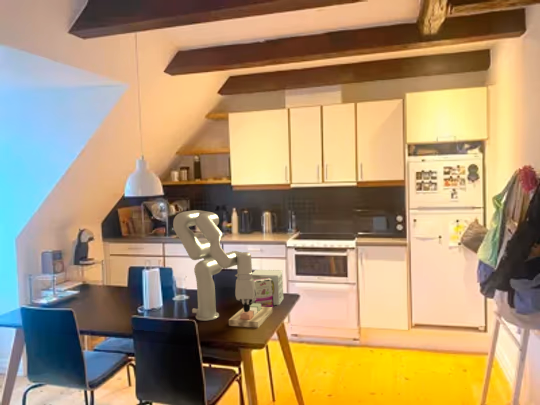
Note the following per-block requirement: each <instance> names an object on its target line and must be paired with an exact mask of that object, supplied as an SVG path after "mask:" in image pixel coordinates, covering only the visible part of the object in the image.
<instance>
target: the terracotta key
mask: <svg viewBox="0 0 540 405" xmlns="http://www.w3.org/2000/svg"><path fill="white" fill-rule="evenodd" d="M252 318H253V312H249V311H248V312H244V311H243V312H242V313H241V314H240V319H243V320H251V319H252Z"/></svg>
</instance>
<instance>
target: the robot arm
mask: <svg viewBox="0 0 540 405" xmlns="http://www.w3.org/2000/svg"><path fill="white" fill-rule="evenodd" d="M219 223H220V218H219V216H218V214H217V213H215V212H211V211H205V210H199V209H198V210H197V209H194V210H187V211H183V212H179V213H178V214H176V215H175V217H174V218H173V222H172V224H173V225H172V226H173V227H172V228H173V230H174V232H175V234H176V235H177V237H178V238H179V240H180V243H181V244H182V245H183V247H184V249H185V251H186V253H187V254H188V256H189V258H190V259H191V260H193V261H198V262H197V263H196V264H195V266H194V270H193V271H194V275H195V281H196V289H197V290H196V292H197V295H196V296H197V308H192V309H191V312H192V314H195V319H196V320H198V321H201V322H202V321H204V322H205V321H213V320H216V319H217V318H219V317H220V313H219V312H217V307H216V305H217V304H216V289H215V288H216V287H215V286H216V285H215V281H214V279H213V277H212V276H215V275H217V274H219V273H220V272H221V271H222V270H223V269H229V268H232V267H235V266H236V267H237V268H236V271H237V273H236V274H234V277H237V278H236V280H235V288H234V289H235V291H234V294H235V299H236V301H240V302H241V303H242V306H243V307H244V312H248V311H249V310H250V305H251V302H252V301H255V300H256V288H255V282H254V279H253V278H252V273H253V267H252V266H253V264H252V254H251V253H250V252H248V251H246V252H242V251H237V250H232V251H229V252H225V251H224V249H223V248H222V247H221V242H220V241H221V239H222V238H223V236H224V235H223V232H222V230H220V228H219V227H218V225H219ZM193 226H194V227H195V226H197V228H198V229H199V231H200V232H201V234H202V235H203V236H204V238H205V239H206V240H200V239H198V236H197V235H196V233H195V232H194V231H193V230H192V229H190V227H193ZM201 259H203V260H201ZM199 260H200V261H199ZM243 307H242V308H243Z"/></svg>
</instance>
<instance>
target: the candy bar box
mask: <svg viewBox="0 0 540 405" xmlns="http://www.w3.org/2000/svg"><path fill="white" fill-rule="evenodd" d="M254 282H255V288H256V300H255V301H253V303H258V304H261V307H272V308H274V305H273V288H272V279H270V278H265V279H257V280H254Z"/></svg>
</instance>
